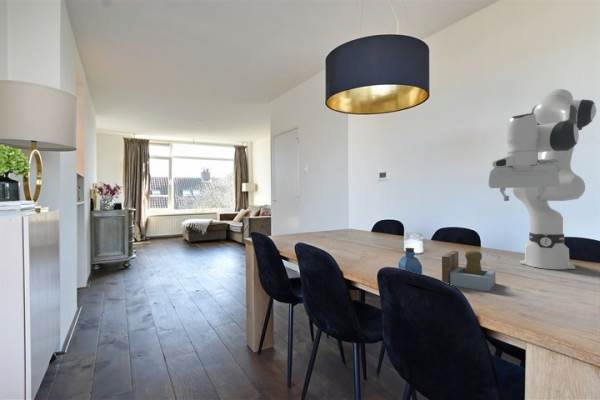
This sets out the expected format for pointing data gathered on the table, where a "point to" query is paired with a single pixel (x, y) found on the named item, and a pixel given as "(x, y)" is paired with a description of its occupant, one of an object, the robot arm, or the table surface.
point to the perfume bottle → (410, 262)
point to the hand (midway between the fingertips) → (522, 200)
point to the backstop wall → (449, 265)
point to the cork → (473, 262)
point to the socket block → (473, 279)
